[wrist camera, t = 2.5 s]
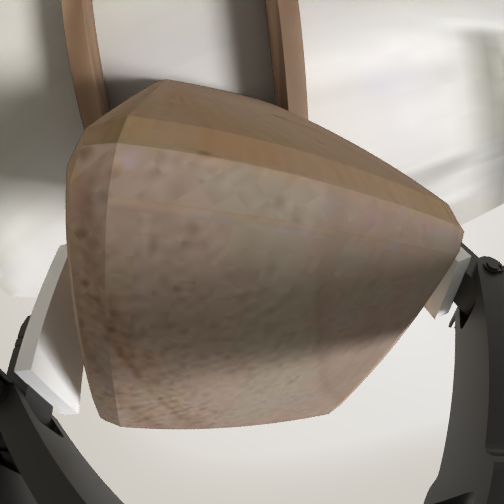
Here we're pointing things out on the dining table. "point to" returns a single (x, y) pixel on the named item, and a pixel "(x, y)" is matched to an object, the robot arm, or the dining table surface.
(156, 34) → the dining table surface
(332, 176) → the wooden block
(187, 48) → the dining table surface
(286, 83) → the frame
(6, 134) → the dining table surface
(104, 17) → the dining table surface
